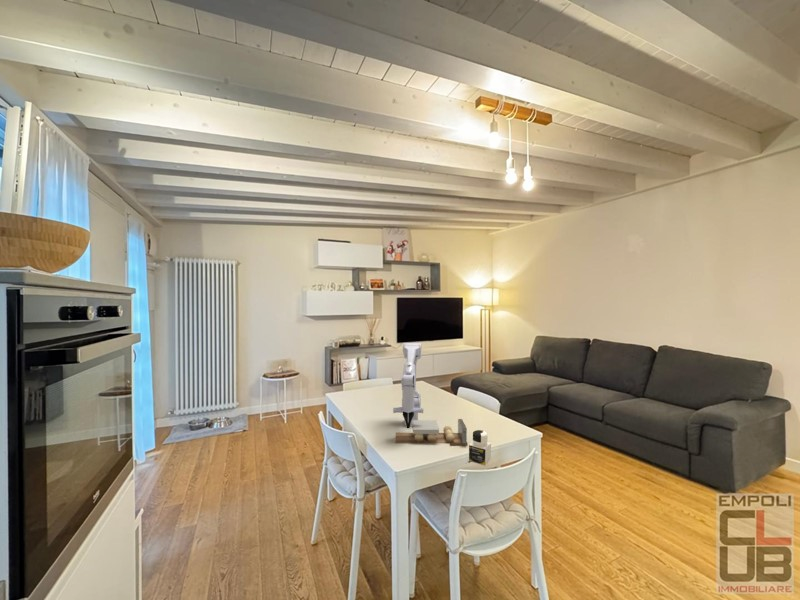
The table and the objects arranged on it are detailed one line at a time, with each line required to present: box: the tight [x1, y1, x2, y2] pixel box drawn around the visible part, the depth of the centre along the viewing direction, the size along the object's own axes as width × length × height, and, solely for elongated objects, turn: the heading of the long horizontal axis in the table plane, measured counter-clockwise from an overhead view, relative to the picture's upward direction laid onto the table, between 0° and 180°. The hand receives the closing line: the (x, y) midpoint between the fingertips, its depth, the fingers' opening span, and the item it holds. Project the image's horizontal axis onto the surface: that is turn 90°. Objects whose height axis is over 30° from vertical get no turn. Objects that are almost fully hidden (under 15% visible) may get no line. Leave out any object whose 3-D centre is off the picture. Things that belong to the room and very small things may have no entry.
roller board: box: [395, 418, 469, 447], centre depth 162 cm, size 12×34×8 cm, turn 90°
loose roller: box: [443, 425, 455, 443], centre depth 162 cm, size 10×4×4 cm, turn 0°
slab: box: [411, 419, 440, 434], centre depth 162 cm, size 12×12×2 cm
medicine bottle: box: [468, 429, 492, 466], centre depth 142 cm, size 7×7×12 cm
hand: (408, 427), depth 162 cm, fingers closed
